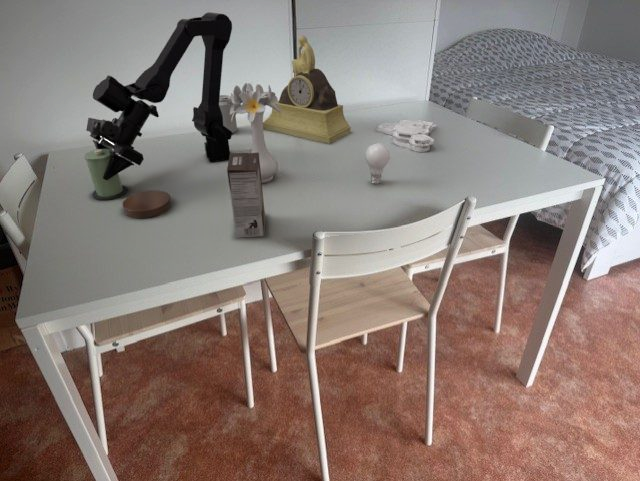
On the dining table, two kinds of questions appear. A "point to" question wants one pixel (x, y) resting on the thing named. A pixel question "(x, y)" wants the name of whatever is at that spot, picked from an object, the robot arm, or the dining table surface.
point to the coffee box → (246, 194)
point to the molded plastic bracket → (410, 134)
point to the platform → (147, 204)
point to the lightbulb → (377, 160)
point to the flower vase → (256, 122)
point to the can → (227, 113)
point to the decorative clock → (308, 103)
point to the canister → (102, 173)
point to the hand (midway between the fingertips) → (99, 175)
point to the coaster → (110, 196)
